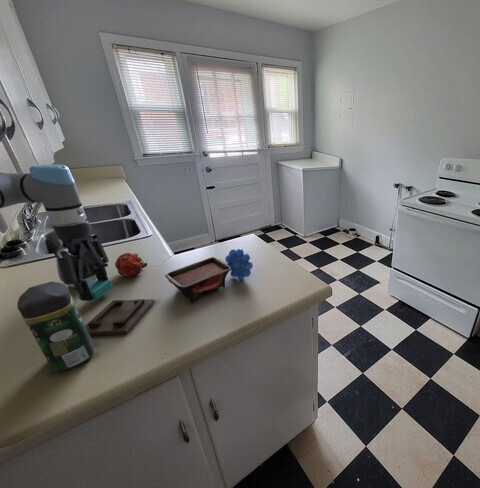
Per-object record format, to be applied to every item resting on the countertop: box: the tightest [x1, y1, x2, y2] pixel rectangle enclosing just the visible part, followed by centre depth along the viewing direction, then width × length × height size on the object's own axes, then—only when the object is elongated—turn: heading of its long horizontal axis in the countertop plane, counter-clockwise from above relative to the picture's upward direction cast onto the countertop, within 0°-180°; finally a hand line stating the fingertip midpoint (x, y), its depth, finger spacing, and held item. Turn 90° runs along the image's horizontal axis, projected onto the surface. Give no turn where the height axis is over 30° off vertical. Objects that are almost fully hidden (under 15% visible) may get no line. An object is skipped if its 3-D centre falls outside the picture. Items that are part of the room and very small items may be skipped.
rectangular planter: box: [164, 256, 231, 304], centre depth 89 cm, size 14×18×10 cm
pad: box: [76, 279, 113, 301], centre depth 83 cm, size 7×5×3 cm
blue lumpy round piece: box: [224, 248, 254, 281], centre depth 94 cm, size 12×7×12 cm, turn 65°
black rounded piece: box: [56, 245, 97, 288], centre depth 90 cm, size 10×10×15 cm
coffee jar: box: [17, 281, 95, 372], centre depth 60 cm, size 10×8×19 cm
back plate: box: [84, 298, 155, 336], centre depth 76 cm, size 14×12×2 cm
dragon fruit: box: [114, 252, 148, 278], centre depth 98 cm, size 8×8×12 cm
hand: (96, 292), depth 84 cm, fingers closed on pad, 7 cm apart
